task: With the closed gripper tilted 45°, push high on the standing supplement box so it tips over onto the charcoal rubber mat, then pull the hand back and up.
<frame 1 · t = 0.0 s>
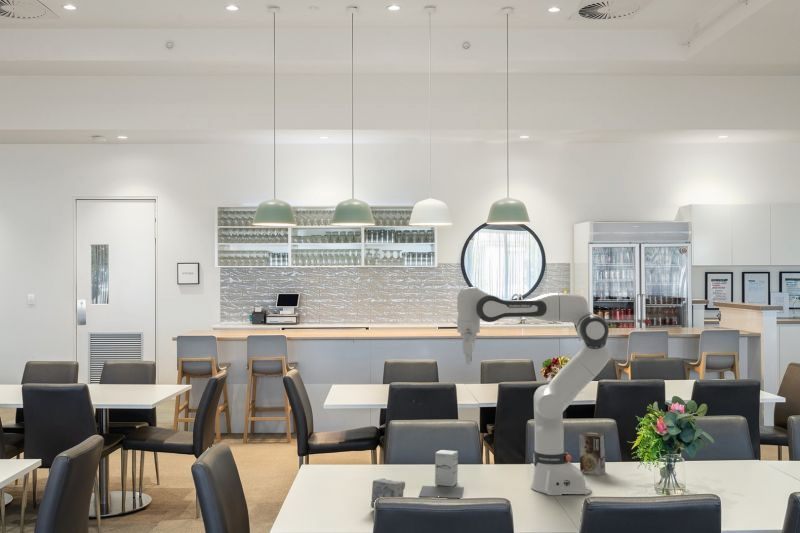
hand: (468, 363, 279), 48 cm above the table, tool pointing down, fingers open, 8 cm apart
mat: (441, 492, 269), on the table
supplement box: (446, 484, 279), on the table, touching mat
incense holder: (388, 510, 250), on the table
coffee box: (592, 473, 295), on the table
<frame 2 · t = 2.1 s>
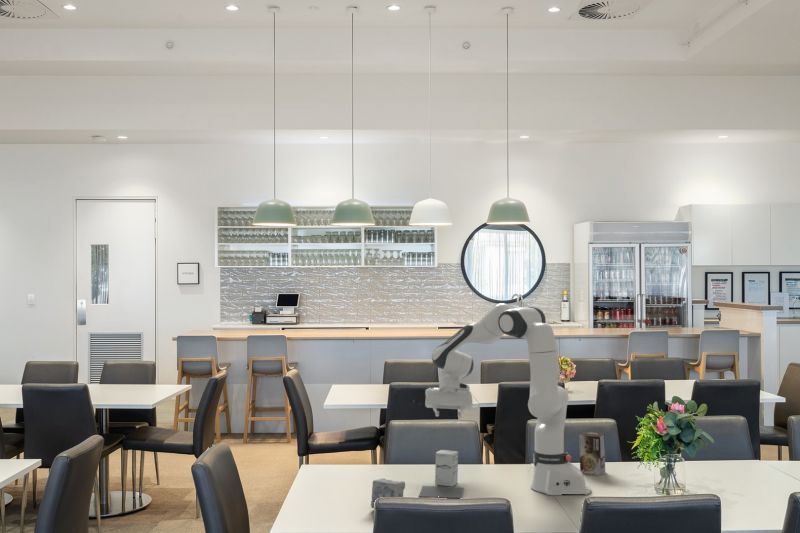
hand: (448, 416, 298), 23 cm above the table, tool tilted 45°, fingers open, 8 cm apart
nothing on the table moved.
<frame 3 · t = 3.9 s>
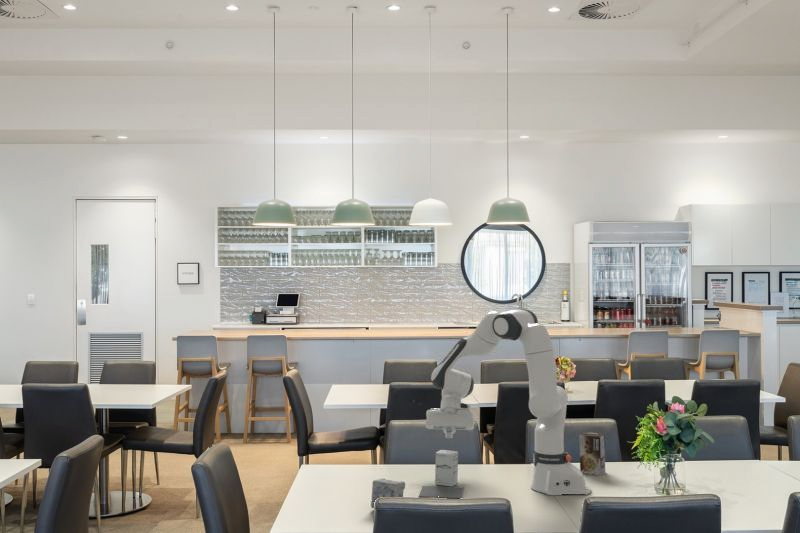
hand: (448, 437, 293), 16 cm above the table, tool tilted 45°, fingers closed
nothing on the table moved.
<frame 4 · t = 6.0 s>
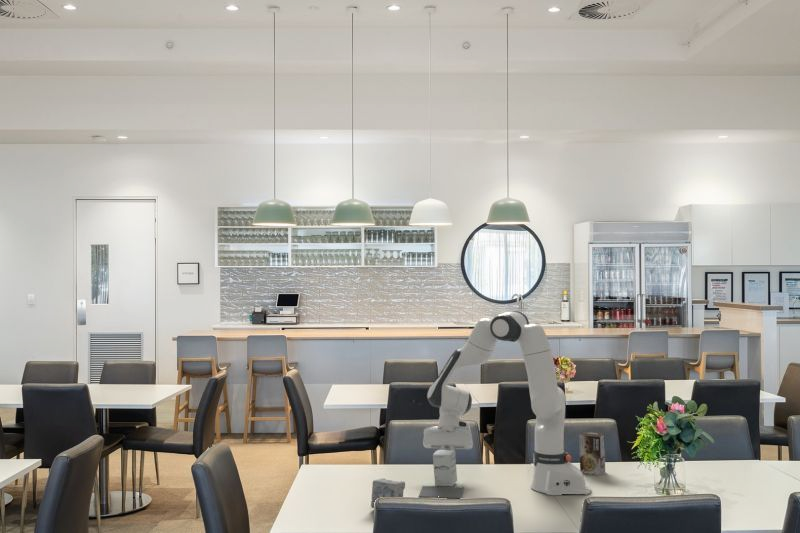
hand: (447, 456, 284), 10 cm above the table, tool tilted 45°, fingers closed
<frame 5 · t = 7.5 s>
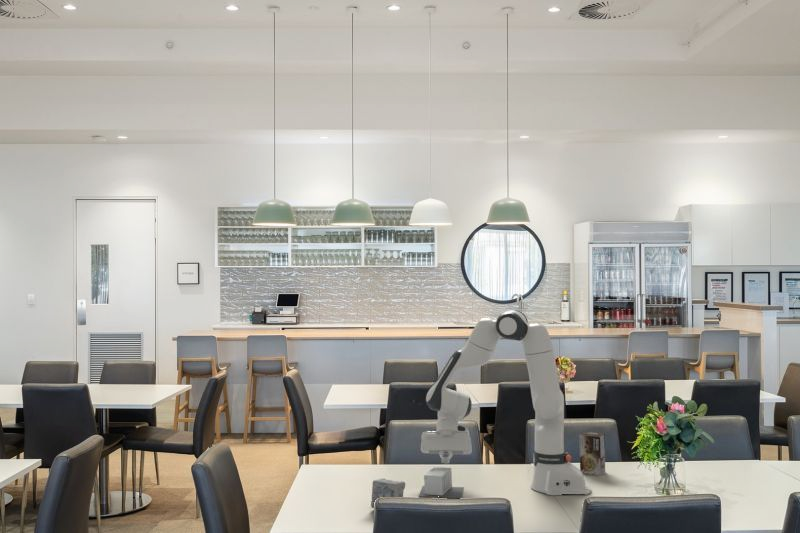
hand: (445, 462, 275), 10 cm above the table, tool tilted 45°, fingers closed
supplement box: (443, 476, 276), point 4 cm above the table, touching mat
everything else where it was.
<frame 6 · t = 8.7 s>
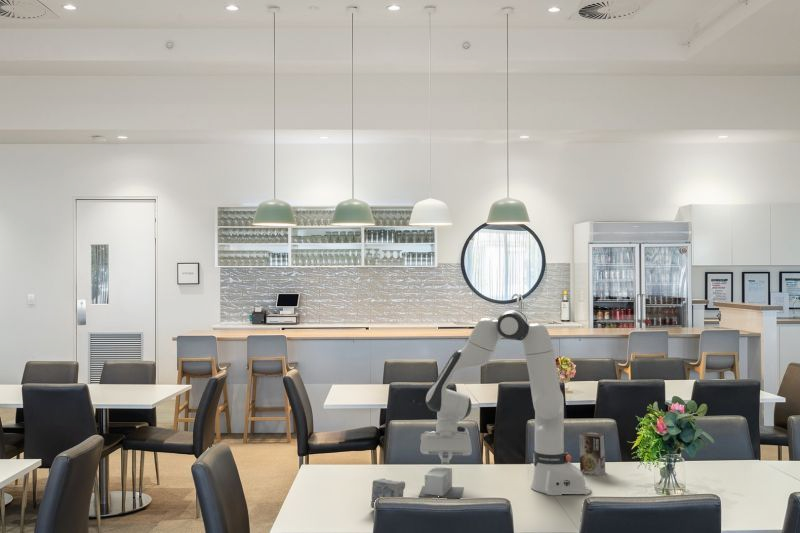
hand: (445, 463, 274), 10 cm above the table, tool tilted 45°, fingers closed
nothing on the table moved.
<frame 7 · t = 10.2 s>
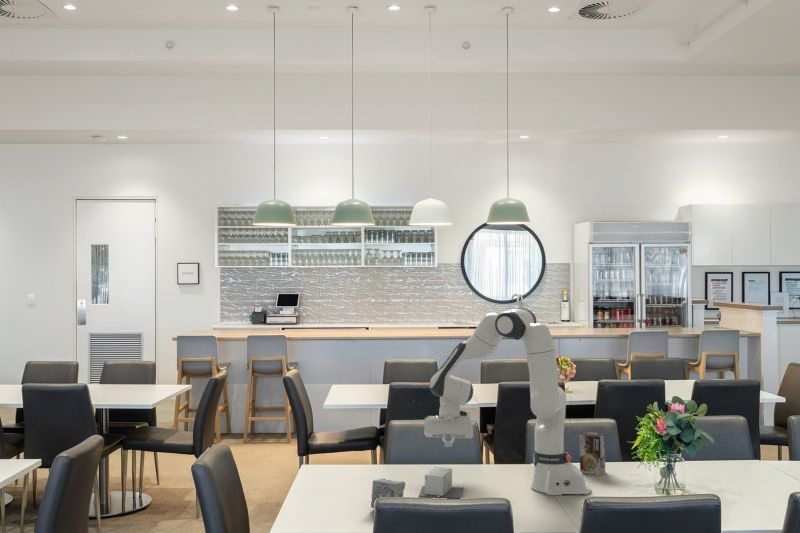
hand: (448, 445, 287), 14 cm above the table, tool tilted 45°, fingers closed
nothing on the table moved.
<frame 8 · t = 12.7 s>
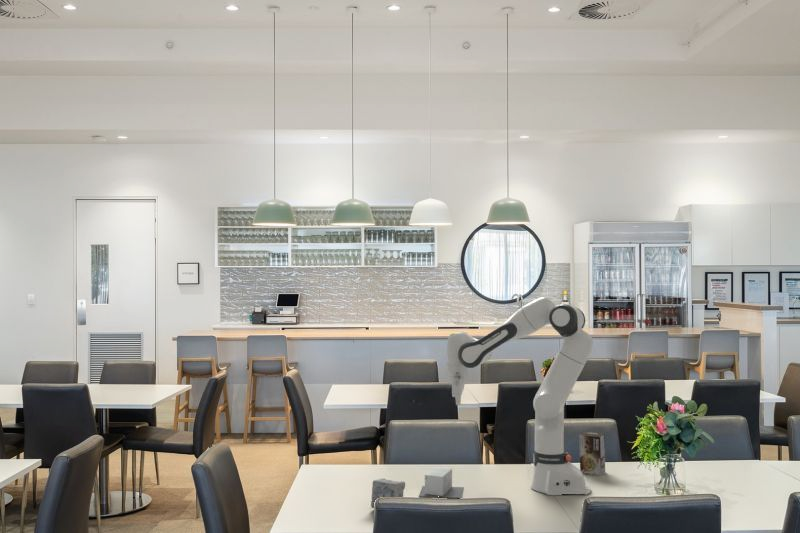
hand: (458, 404, 293), 29 cm above the table, tool pointing down, fingers closed
nothing on the table moved.
at the end: supplement box tilted 90°; supplement box touching mat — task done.
